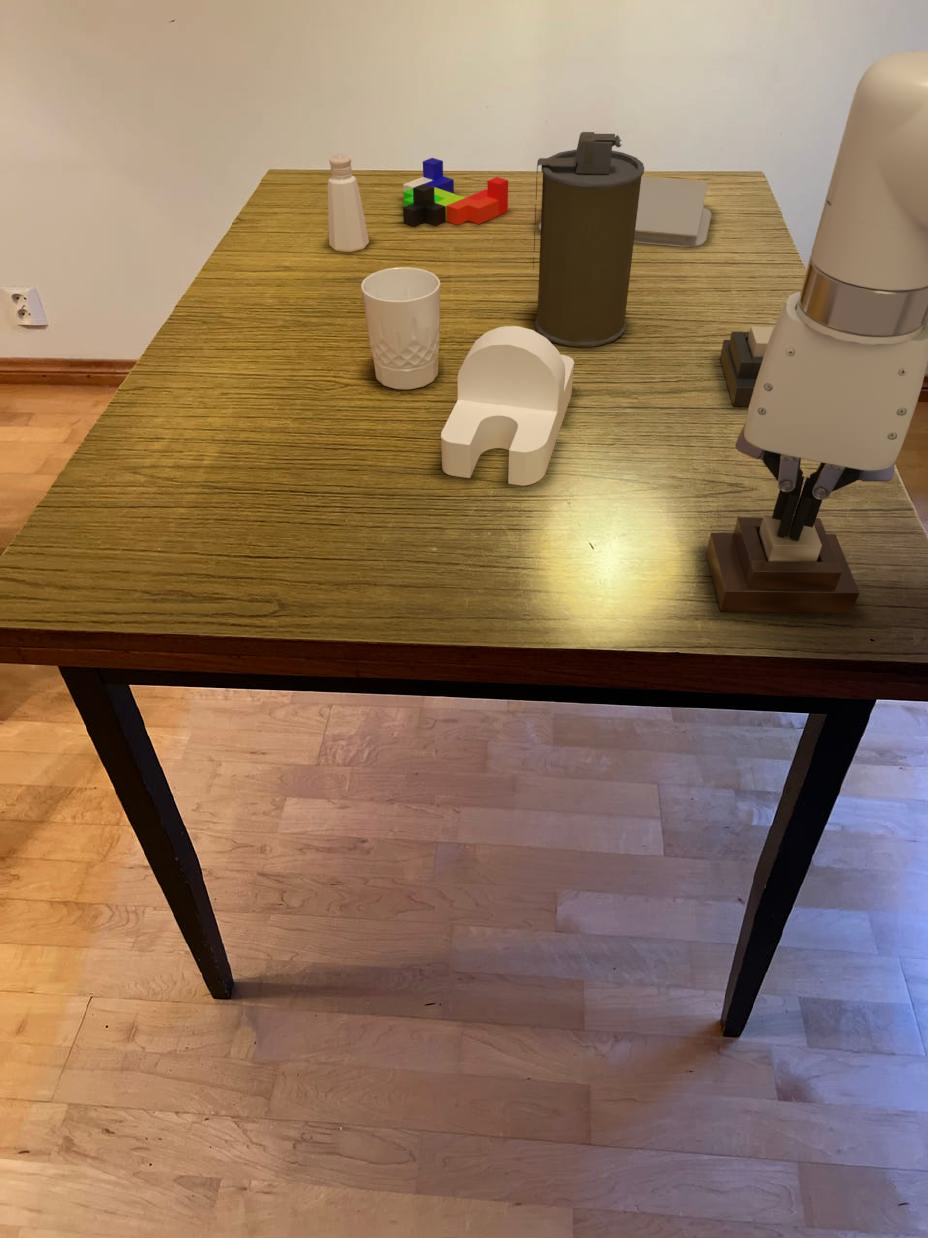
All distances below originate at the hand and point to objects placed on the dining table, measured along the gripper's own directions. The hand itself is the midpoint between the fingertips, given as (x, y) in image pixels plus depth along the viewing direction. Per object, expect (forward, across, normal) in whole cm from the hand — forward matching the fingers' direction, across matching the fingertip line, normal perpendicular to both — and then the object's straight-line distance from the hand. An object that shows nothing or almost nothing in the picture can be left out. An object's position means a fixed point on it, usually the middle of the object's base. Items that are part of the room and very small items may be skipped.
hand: (790, 527), depth 67 cm
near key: (+2, 0, 0) cm, 2 cm away
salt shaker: (+6, +63, -48) cm, 80 cm away
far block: (+6, +6, -31) cm, 32 cm away
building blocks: (+6, +56, -63) cm, 85 cm away
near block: (+5, 0, 0) cm, 5 cm away
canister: (+6, +27, -36) cm, 46 cm away
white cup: (+6, +41, -19) cm, 46 cm away
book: (+6, +30, -69) cm, 76 cm away
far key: (+2, +6, -31) cm, 32 cm away
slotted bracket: (+6, +27, -13) cm, 31 cm away
